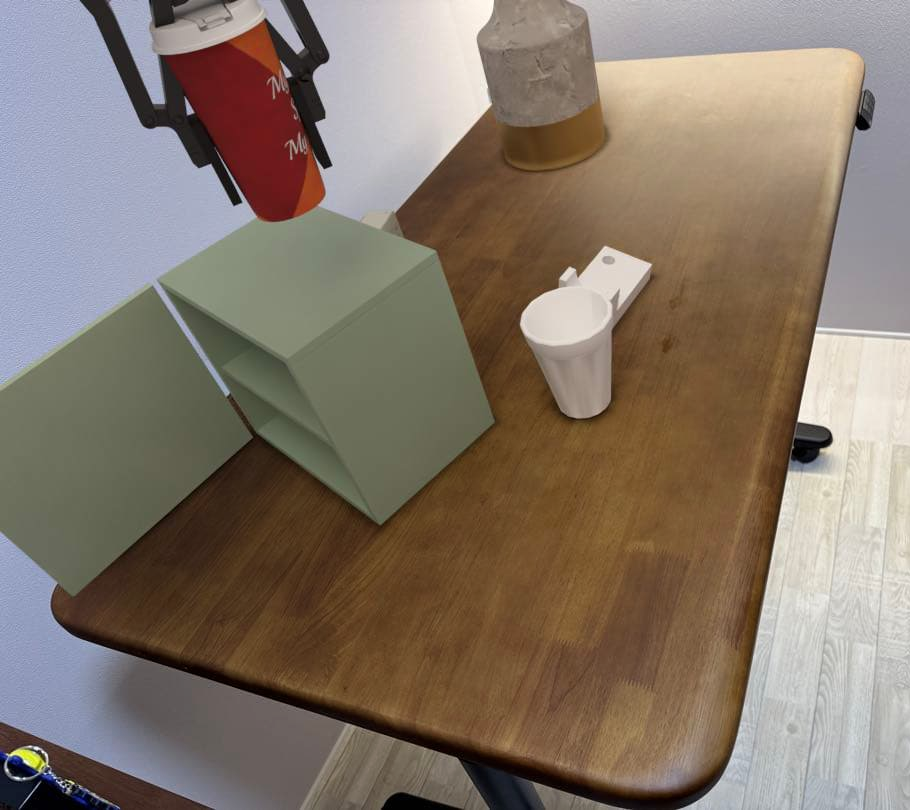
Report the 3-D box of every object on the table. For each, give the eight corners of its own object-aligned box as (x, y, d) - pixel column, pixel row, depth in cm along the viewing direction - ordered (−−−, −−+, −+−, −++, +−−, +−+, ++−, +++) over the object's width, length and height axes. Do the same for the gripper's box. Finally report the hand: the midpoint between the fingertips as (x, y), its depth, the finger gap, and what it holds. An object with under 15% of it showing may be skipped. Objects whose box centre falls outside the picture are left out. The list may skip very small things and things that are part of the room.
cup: (526, 414, 91) (500, 327, 83) (577, 363, 96) (558, 276, 87) (593, 444, 86) (573, 355, 77) (644, 389, 90) (631, 299, 82)
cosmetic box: (395, 279, 118) (367, 208, 110) (421, 279, 117) (395, 207, 109) (378, 305, 114) (348, 234, 106) (405, 306, 113) (376, 233, 104)
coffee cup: (355, 196, 62) (273, -5, 52) (259, 242, 59) (154, 41, 49) (318, 166, 67) (238, -21, 57) (229, 206, 65) (130, 19, 55)
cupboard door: (43, 571, 88) (-117, 428, 72) (221, 421, 102) (118, 271, 86) (73, 597, 85) (-89, 452, 69) (253, 437, 98) (152, 284, 82)
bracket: (604, 343, 99) (610, 300, 93) (556, 322, 101) (559, 278, 95) (648, 284, 106) (656, 240, 100) (602, 265, 108) (607, 221, 102)
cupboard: (380, 525, 84) (286, 358, 67) (256, 433, 99) (155, 278, 82) (495, 422, 91) (436, 250, 75) (364, 351, 107) (291, 195, 90)
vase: (616, 118, 143) (590, -68, 122) (590, 169, 131) (558, -28, 110) (523, 123, 149) (484, -53, 128) (490, 172, 137) (442, -13, 117)
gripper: (-61, -113, 42) (164, 248, 57) (285, -215, 46) (408, 148, 61) (-49, -123, 47) (155, 210, 63) (261, -214, 51) (379, 120, 67)
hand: (280, 179), depth 62 cm, fingers closed on coffee cup, 7 cm apart
